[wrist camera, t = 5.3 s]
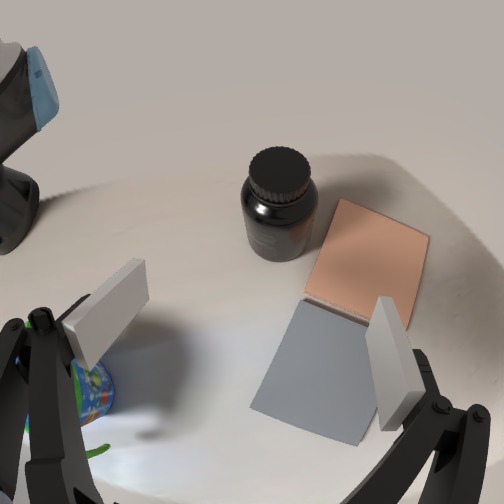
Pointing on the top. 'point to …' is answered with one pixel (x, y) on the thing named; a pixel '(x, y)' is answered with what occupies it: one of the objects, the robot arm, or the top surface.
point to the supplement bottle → (279, 203)
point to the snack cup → (90, 396)
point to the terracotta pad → (368, 262)
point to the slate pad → (321, 377)
